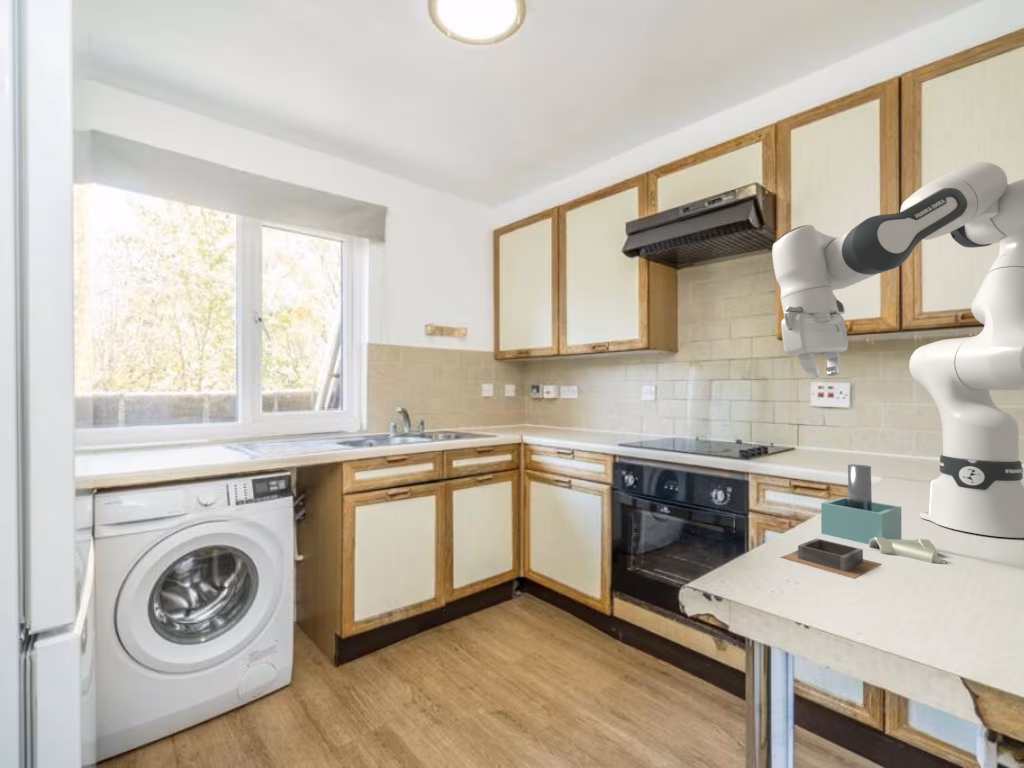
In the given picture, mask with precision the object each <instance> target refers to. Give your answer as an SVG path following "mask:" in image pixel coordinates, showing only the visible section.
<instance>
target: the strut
mask: <svg viewBox="0 0 1024 768" xmlns="http://www.w3.org/2000/svg"><path fill="white" fill-rule="evenodd" d="M847 479H848V480H847V482H848V483H847V485H848V486H847V487H848V488H847V489H848V494H847V495H848V496H847V497H848V498H849V507H850V508H856V509H861V510H867V511H872V502H873V500H872V466H870V465H865V464H854V463H853V464H848V465H847Z"/></svg>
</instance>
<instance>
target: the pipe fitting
mask: <svg viewBox="0 0 1024 768" xmlns="http://www.w3.org/2000/svg"><path fill="white" fill-rule="evenodd" d="M868 548H877V549H879V554H881V555H884V554H885V555H896V556H899V557H903V558H908V559H911V560H912V559H913V560H916V561H917V560H918V561H920V562H925V563H931V564H932V563H935V564H943V565H944V564H946V562H947V561H946V560H943V557H942V556H939V555H938V552H937V549H936V547H935V545H934V544H933V543H932V542H931V540H929V539H925V538H924V539H921V538H920V539H914V540H913V539H901V540H900V539H886V538H883V537H874V538H871V539H870V540H869V544H868Z"/></svg>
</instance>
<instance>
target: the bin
mask: <svg viewBox="0 0 1024 768" xmlns="http://www.w3.org/2000/svg"><path fill="white" fill-rule="evenodd" d="M820 504H821V507H820V508H821V512H820V513H821V514H820V516H821V520H820V521H821V524H820V526H821V534H822V535H827V536H830V537H834V538H840V539H844V540H847V541H852V542H858V543H861V544H866V545H869V540H870V539H871V538H874V537H883V538H886V539H900V540H902V506H898V505H892V504H886V503H880V502H875V501H872V511H867V510H861V509H856V508H850V507H849V497H845V496H842V497H837V498H834V499H831V500H828V501H824V502H822V503H820Z"/></svg>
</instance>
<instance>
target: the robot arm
mask: <svg viewBox="0 0 1024 768" xmlns="http://www.w3.org/2000/svg"><path fill="white" fill-rule="evenodd" d="M947 234H950V236H951V238H952V239H953V240H954V242H956V243H958V244H959V245H960V246H962V247H964V248H969V249H970V248H982V247H983V248H984V247H988V246H991V245H993V244H997V243H999V253H998V255H997V257H996V259H995V260H994V261H993V263H992V264H991V266H990V267H989V269H988V271H987V273H986V275H985V277H984V278H983V281H982V283H981V285H980V287H979V288H978V290H977V291H976V294H975V296H974V297H973V300H972V302H971V304H970V311H971V313H972V316H973V317H974V318H975V320H976V321H978V323H980V324H982V325H984V326H983V329H982V330H981V332H979V334H977V335H974V336H967V337H959V338H947V339H941V340H938V341H934V342H931V343H927V344H924V345H921V346H920V347H917V348H916V349H915V350H914V351H913V353H912V354H911V355H910V356H911V357H910V359H909V363H908V367H909V372H910V375H911V376H912V378H913V379H914V381H915V382H916V383H917V384H919V385H921V386H922V387H923V388H924V389H925V390H926V391H927V392H928V393H929V395H930V397H931V398H932V400H933V401H934V403H935V406H936V408H937V410H938V413H939V417H940V420H941V421H940V422H941V435H942V436H941V437H942V454H941V455H940V457H939V461H938V466H939V472H940V475H939V476H938V477H937V478H936V477H935V478H934V479H933V480H931V481H930V489H929V506H928V510H927V511H922V512H920V513H919V518H921V519H923V520H928V521H930V522H932V523H934V524H937V525H939V526H942V527H944V528H948V529H953V530H956V531H961V532H967V533H972V534H976V535H977V534H978V535H984V536H990V537H998V538H999V537H1000V538H1001V537H1002V538H1012V539H1014V538H1015V539H1024V485H1023V483H1022V481H1021V480H1023V479H1024V477H1023V475H1024V474H1023V473H1024V468H1023V465H1022V464H1023V463H1022V461H1020V458H1019V457H1020V456H1019V455H1020V454H1019V452H1020V450H1019V449H1020V446H1019V443H1020V441H1019V437H1020V436H1019V428H1020V427H1019V424H1018V421H1017V420H1016V419H1015V418H1014V417H1013V415H1011V414H1010V413H1007V412H1006V411H1004V410H1002V409H1000V408H999V407H998V406H997V405H996V404H995V402H994V401H993V399H992V397H991V393H990V391H992V390H993V391H995V390H997V391H1003V390H1004V391H1019V390H1024V178H1023V179H1019V180H1016V181H1013V182H1010V183H1008V178H1007V174H1006V172H1005V171H1004V169H1003V168H1001V166H998V165H997V164H996V163H995V164H994V163H990V162H975V163H971V164H968V165H965V166H962V167H958V168H957V169H954V170H951V171H949V172H947V173H945V174H942V175H941V176H939V177H936V178H935V179H934V180H932V181H929V182H928V183H926V184H925V185H923V186H921V187H920V188H918V189H917V190H916V191H915V192H913V193H912V194H911V195H910V196H909V197H907V198H906V199H905V200H904V201H903V202H902V204H901V206H900V211H899V212H896V213H888V214H879V215H878V214H877V215H874V216H870V217H867V218H866V219H864V220H863V221H861V222H860V223H858V224H857V225H856V226H854V227H853V228H852V229H850V230H848V231H847V232H845V233H843V234H842V235H840V236H831V235H828V234H824V233H822V232H820V231H818V230H817V229H816V228H815V226H813V225H812V224H804V225H801V226H797V227H796V228H793V229H791V230H790V231H789V230H788V231H787V232H785V233H783V234H782V235H780V236H779V237H778V238H777V239H776V240H775V241H774V242H773V244H772V249H771V252H772V254H771V258H772V264H773V271H774V274H775V275H774V276H775V280H776V282H777V284H778V285H779V288H780V295H779V296H780V297H779V299H780V303H781V309H782V312H783V317H784V318H782V320H781V322H780V323H781V324H780V326H781V327H780V328H781V337H782V343H783V348H784V351H785V353H786V355H787V356H788V357H798V361H799V363H800V365H801V366H802V368H803V370H804V373H805V377H806V379H809V380H810V379H815V378H819V377H820V372H819V371H820V370H819V367H817V365H816V364H815V360H814V359H815V355H816V356H817V355H824V358H825V360H826V364H827V365H826V366H827V367H826V368H825V369H826V370H825V371H826V372H827V376H828V377H832V376H833V377H834V376H839V375H840V374H841V371H840V358H841V356H840V353H843V352H847V351H848V347H849V340H848V332H847V327H846V322H845V319H844V317H843V316H842V315H843V314H845V313H846V311H845V306H844V303H842V302H841V301H840V300H839V299H838V298H837V296H836V295H835V294H834V290H842V289H845V288H847V287H850V286H853V285H855V284H857V283H861V282H862V281H864V280H867V279H869V278H872V277H874V276H876V275H879V274H883V273H885V272H888V271H891V270H893V269H896V268H898V267H900V266H901V265H902V264H904V263H905V261H907V259H909V257H910V255H911V254H912V252H913V250H914V249H915V248H916V247H917V245H918V244H919V243H920V242H921V241H922V240H925V241H926V240H933V239H935V238H939V237H942V236H945V235H947Z"/></svg>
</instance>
